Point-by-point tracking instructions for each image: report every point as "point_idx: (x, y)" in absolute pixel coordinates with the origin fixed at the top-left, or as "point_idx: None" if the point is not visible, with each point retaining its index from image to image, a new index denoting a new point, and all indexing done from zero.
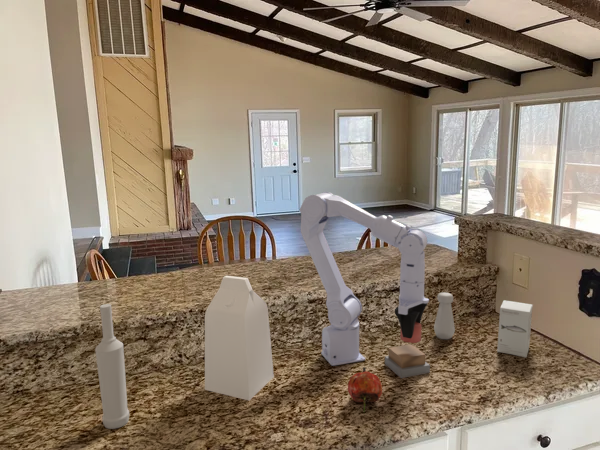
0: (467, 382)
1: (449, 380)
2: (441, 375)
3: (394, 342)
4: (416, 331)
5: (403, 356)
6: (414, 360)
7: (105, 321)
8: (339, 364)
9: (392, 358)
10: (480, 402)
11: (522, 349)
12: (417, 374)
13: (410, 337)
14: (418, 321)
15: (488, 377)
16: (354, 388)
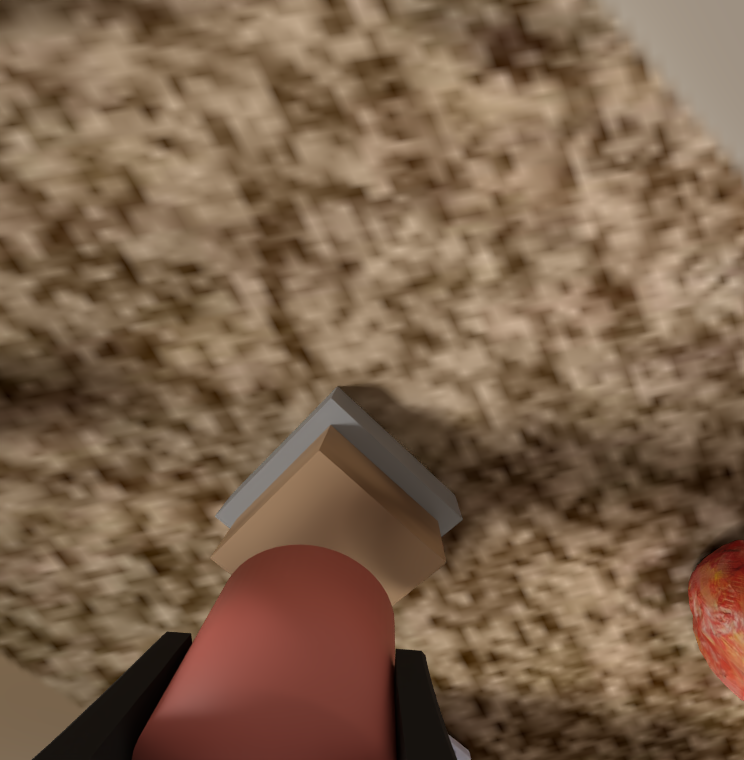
0: (357, 174)
1: (378, 274)
2: (341, 324)
3: (109, 599)
4: (360, 681)
5: (412, 561)
6: (382, 488)
7: None
8: (449, 735)
9: None
10: (561, 60)
11: None
12: (389, 435)
13: (424, 665)
14: (113, 748)
15: (237, 59)
16: None
